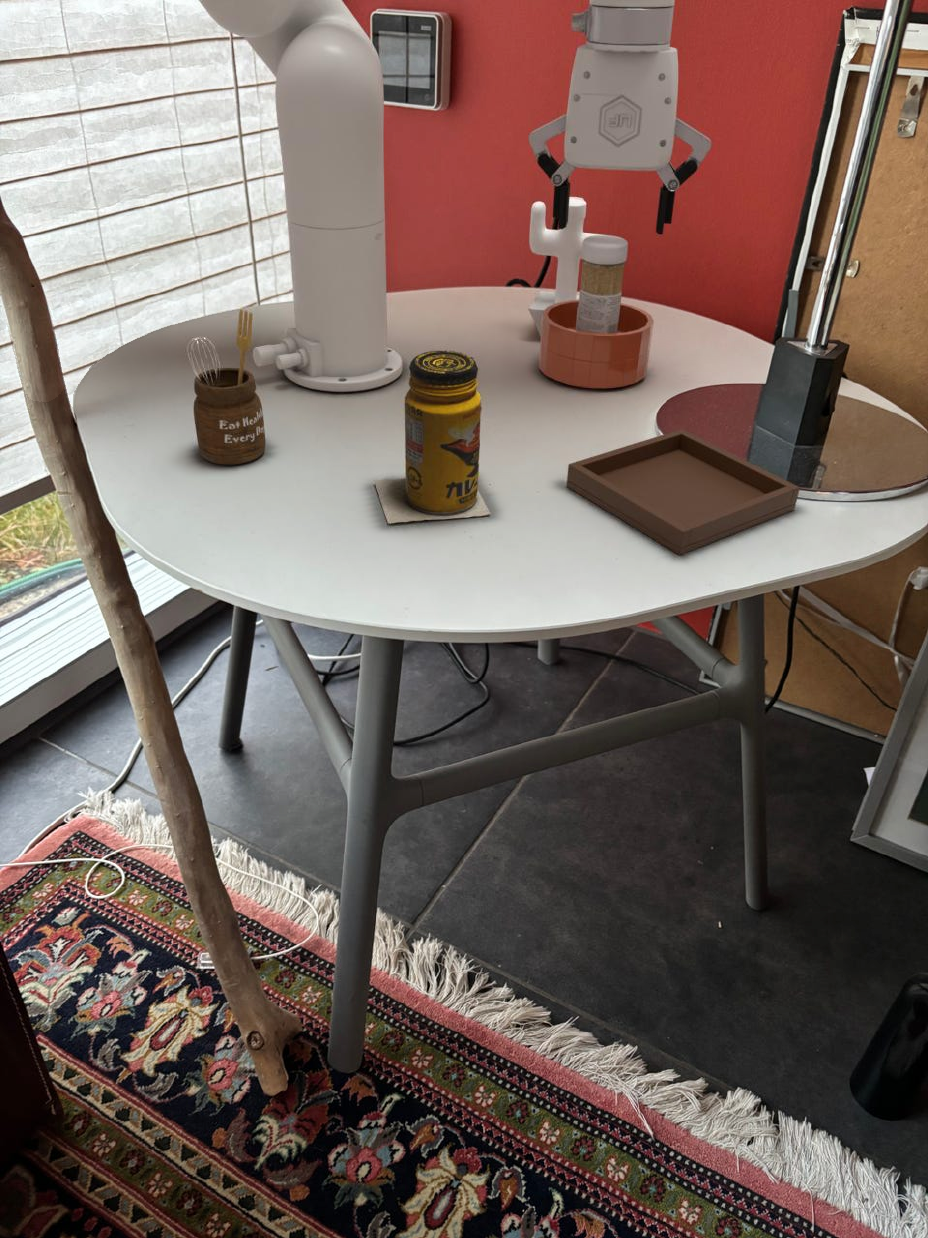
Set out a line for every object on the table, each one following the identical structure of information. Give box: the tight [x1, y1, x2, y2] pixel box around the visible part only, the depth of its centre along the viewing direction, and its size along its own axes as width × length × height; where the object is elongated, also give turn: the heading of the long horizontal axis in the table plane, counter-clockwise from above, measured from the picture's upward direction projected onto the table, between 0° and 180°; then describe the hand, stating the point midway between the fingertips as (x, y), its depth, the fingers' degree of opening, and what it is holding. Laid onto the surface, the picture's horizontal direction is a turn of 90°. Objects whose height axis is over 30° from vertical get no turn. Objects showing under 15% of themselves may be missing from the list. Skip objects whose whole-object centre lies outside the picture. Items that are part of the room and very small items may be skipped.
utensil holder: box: [186, 308, 266, 466], centre depth 85 cm, size 6×6×12 cm
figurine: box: [528, 196, 602, 337], centre depth 112 cm, size 7×9×15 cm
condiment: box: [373, 350, 492, 524], centre depth 78 cm, size 7×8×12 cm
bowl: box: [538, 300, 655, 390], centre depth 105 cm, size 12×12×6 cm
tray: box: [566, 428, 801, 556], centre depth 82 cm, size 14×14×2 cm
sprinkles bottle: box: [576, 234, 629, 334], centre depth 102 cm, size 5×5×13 cm
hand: (610, 228), depth 98 cm, fingers open, 9 cm apart
